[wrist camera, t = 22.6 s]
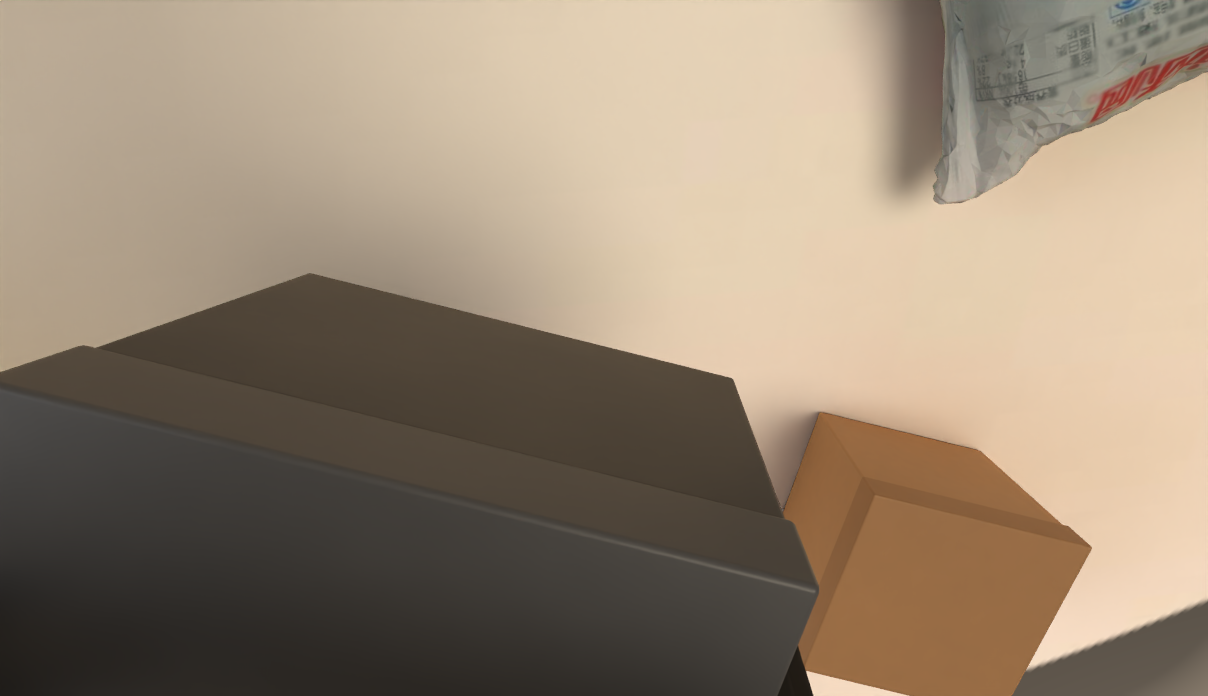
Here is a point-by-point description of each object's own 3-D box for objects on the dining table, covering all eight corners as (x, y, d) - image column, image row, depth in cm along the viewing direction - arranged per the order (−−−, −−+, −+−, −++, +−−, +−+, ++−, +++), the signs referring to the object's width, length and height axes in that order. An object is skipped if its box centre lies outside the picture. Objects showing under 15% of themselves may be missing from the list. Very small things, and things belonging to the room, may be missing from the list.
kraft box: (818, 409, 22) (874, 494, 16) (983, 449, 22) (1093, 547, 16) (766, 551, 23) (802, 670, 18) (919, 588, 23) (1001, 718, 18)
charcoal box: (306, 268, 10) (-30, 378, 5) (737, 375, 10) (824, 589, 5) (270, 624, 12) (7, 950, 7) (629, 712, 12) (616, 1099, 7)
